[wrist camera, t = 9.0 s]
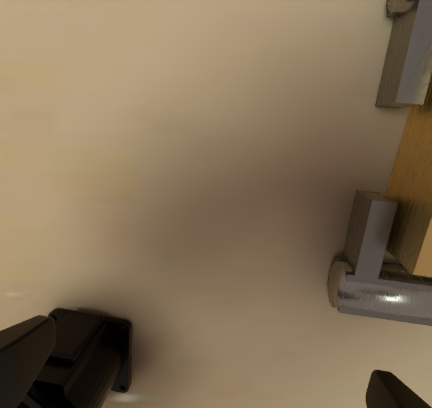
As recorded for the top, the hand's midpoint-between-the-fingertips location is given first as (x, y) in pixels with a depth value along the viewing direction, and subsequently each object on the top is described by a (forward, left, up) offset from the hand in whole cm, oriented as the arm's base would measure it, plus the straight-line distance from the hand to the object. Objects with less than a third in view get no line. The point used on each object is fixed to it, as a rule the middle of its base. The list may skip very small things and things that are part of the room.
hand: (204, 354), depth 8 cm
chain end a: (-1, -11, -12) cm, 16 cm away
